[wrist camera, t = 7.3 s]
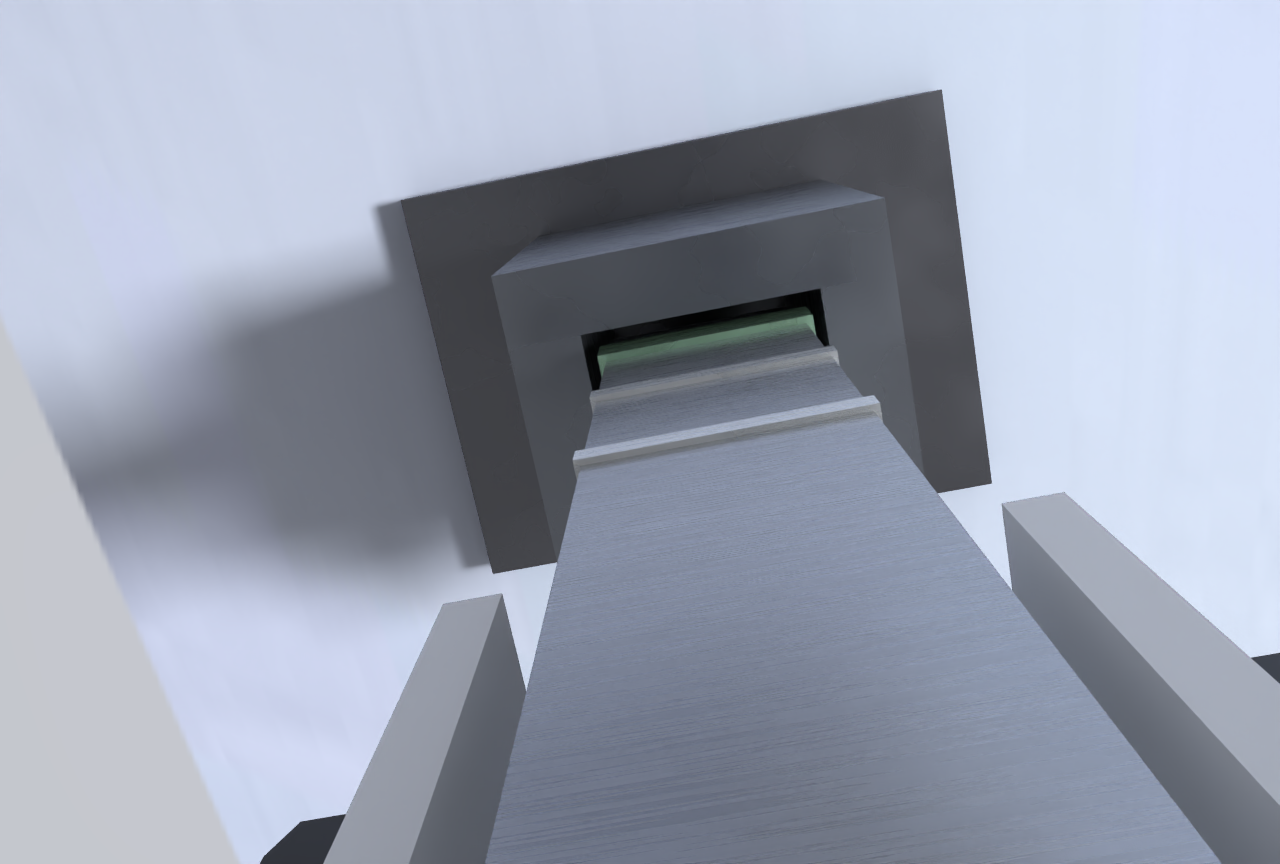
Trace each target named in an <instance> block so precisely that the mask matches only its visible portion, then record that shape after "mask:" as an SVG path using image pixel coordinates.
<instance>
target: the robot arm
mask: <svg viewBox="0 0 1280 864" xmlns="http://www.w3.org/2000/svg"><path fill="white" fill-rule="evenodd" d="M1002 511H1003V519H1004V527H1005V535H1006V543H1007V551H1008V559H1009V567H1010V575H1011V583H1012V591H1013V592H1014V594H1015V595H1016V596H1017V598H1018V599H1019V600H1020V602H1021V603H1022V604H1023V605H1024V607H1025V608H1026V609H1027V611H1028V612H1029V613H1030V615H1031V616H1032V617H1033V618H1034V620H1035V621H1036V622H1037V624H1038V625H1039V626H1040V628H1041V629H1042V630H1043V632H1044V633H1045V634H1046V635H1047V637H1048V638H1049V639H1050V641H1051V642H1052V643H1053V645H1054V646H1055V647H1056V648H1057V650H1058V651H1059V652H1060V654H1061V655H1062V656H1063V658H1064V659H1065V660H1066V661H1067V663H1068V664H1069V665H1070V667H1071V668H1072V669H1073V671H1074V672H1075V673H1076V674H1077V676H1078V677H1079V678H1080V680H1081V681H1082V682H1083V684H1084V685H1085V686H1086V687H1087V689H1088V690H1089V691H1090V693H1091V694H1092V695H1093V697H1094V698H1095V699H1096V700H1097V702H1098V703H1099V704H1100V706H1101V707H1102V708H1103V710H1104V711H1105V712H1106V713H1107V715H1108V716H1109V717H1110V719H1111V720H1112V721H1113V723H1114V724H1115V725H1116V726H1117V728H1118V729H1119V730H1120V732H1121V733H1122V734H1123V736H1124V737H1125V738H1126V739H1127V741H1128V742H1129V743H1130V745H1131V746H1132V747H1133V749H1134V750H1135V751H1136V752H1137V754H1138V755H1139V756H1140V758H1141V759H1142V760H1143V762H1144V763H1145V764H1146V765H1147V767H1148V768H1149V769H1150V771H1151V772H1152V773H1153V775H1154V776H1155V777H1156V778H1157V780H1158V781H1159V782H1160V784H1161V785H1162V786H1163V788H1164V789H1165V790H1166V791H1167V793H1168V794H1169V795H1170V797H1171V798H1172V799H1173V801H1174V802H1175V803H1176V805H1177V806H1178V807H1179V808H1180V810H1181V811H1182V812H1183V814H1184V815H1185V816H1186V818H1187V819H1188V820H1189V821H1190V823H1191V824H1192V825H1193V827H1194V828H1195V829H1196V831H1197V832H1198V833H1199V834H1200V836H1201V837H1202V838H1203V840H1204V841H1205V842H1206V844H1207V845H1208V846H1209V847H1210V849H1211V850H1212V851H1213V853H1214V854H1215V855H1216V857H1217V858H1218V859H1219V860H1220V862H1221V863H1222V864H1280V653H1276V654H1271V655H1265V656H1259V657H1253V658H1250V657H1249V656H1248V655H1247V654H1246V653H1245V652H1243V651H1242V650H1241V649H1240V648H1239V647H1238V646H1237V645H1236V644H1234V643H1233V642H1232V641H1231V640H1230V639H1229V638H1228V637H1227V636H1225V635H1224V634H1223V633H1222V632H1221V631H1220V630H1219V629H1218V628H1216V627H1215V626H1214V625H1213V624H1212V623H1211V622H1210V621H1209V620H1207V619H1206V618H1205V617H1204V616H1203V615H1202V614H1201V613H1200V612H1198V611H1197V610H1196V609H1195V608H1194V607H1193V606H1192V605H1191V604H1189V603H1188V602H1187V601H1186V600H1185V599H1184V598H1183V597H1182V596H1180V595H1179V594H1178V593H1177V592H1176V591H1175V590H1174V589H1173V588H1171V587H1170V586H1169V585H1168V584H1167V583H1166V582H1165V581H1164V580H1162V579H1161V578H1160V577H1159V576H1158V575H1157V574H1156V573H1155V572H1153V571H1152V570H1151V569H1150V568H1149V567H1148V566H1147V565H1146V564H1144V563H1143V562H1142V561H1141V560H1140V559H1139V558H1138V557H1137V556H1135V555H1134V554H1133V553H1132V552H1131V551H1130V550H1129V549H1128V548H1126V547H1125V546H1124V545H1123V544H1122V543H1121V542H1120V541H1119V540H1117V539H1116V538H1115V537H1114V536H1113V535H1112V534H1111V533H1110V532H1108V531H1107V530H1106V529H1105V528H1104V527H1103V526H1102V525H1101V524H1099V523H1098V522H1097V521H1096V520H1095V519H1094V518H1093V517H1092V516H1090V515H1089V514H1088V513H1087V512H1086V511H1085V510H1084V509H1083V508H1081V507H1080V506H1079V505H1078V504H1077V503H1076V502H1075V501H1074V500H1072V499H1071V498H1070V497H1069V496H1068V495H1067V494H1066V493H1065V492H1063V493H1057V494H1052V495H1046V496H1040V497H1035V498H1029V499H1024V500H1018V501H1013V502H1007V503H1002ZM525 695H526V689H525V685H524V681H523V677H522V673H521V668H520V664H519V660H518V656H517V652H516V648H515V644H514V640H513V636H512V632H511V628H510V624H509V620H508V616H507V611H506V607H505V603H504V599H503V595H502V594H496V595H490V596H485V597H479V598H474V599H468V600H463V601H457V602H452V603H446V604H443V606H442V608H441V610H440V612H439V614H438V617H437V619H436V621H435V623H434V625H433V627H432V630H431V632H430V634H429V636H428V638H427V640H426V643H425V645H424V647H423V649H422V651H421V653H420V656H419V658H418V660H417V662H416V664H415V666H414V668H413V671H412V673H411V675H410V677H409V679H408V681H407V684H406V686H405V688H404V690H403V692H402V694H401V697H400V699H399V701H398V703H397V705H396V707H395V710H394V712H393V714H392V716H391V718H390V720H389V723H388V725H387V727H386V729H385V731H384V733H383V736H382V738H381V740H380V742H379V744H378V746H377V749H376V751H375V753H374V755H373V757H372V759H371V762H370V764H369V766H368V768H367V770H366V772H365V774H364V777H363V779H362V781H361V783H360V785H359V787H358V790H357V792H356V794H355V796H354V798H353V800H352V803H351V805H350V807H349V809H348V811H347V813H346V814H344V815H338V816H332V817H326V818H320V819H314V820H308V821H302V822H300V823H299V824H298V825H297V826H296V827H295V828H294V829H293V830H291V831H290V832H289V833H288V834H287V835H286V836H285V837H284V838H283V839H282V840H281V841H280V842H279V843H278V844H277V845H276V846H274V847H273V848H272V849H271V850H270V851H269V852H268V853H267V854H266V855H265V856H264V857H263V859H262V861H261V863H260V864H485V861H486V857H487V853H488V849H489V845H490V840H491V836H492V832H493V828H494V824H495V820H496V816H497V811H498V807H499V803H500V799H501V795H502V791H503V787H504V782H505V778H506V774H507V770H508V766H509V762H510V757H511V753H512V749H513V745H514V741H515V737H516V733H517V728H518V724H519V720H520V716H521V712H522V708H523V704H524V699H525Z"/></svg>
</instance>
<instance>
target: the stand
mask: <svg viewBox="0 0 1280 864" xmlns="http://www.w3.org/2000/svg"><path fill="white" fill-rule="evenodd" d="M401 203H402V207H403V211H404V215H405V219H406V223H407V227H408V231H409V235H410V239H411V243H412V247H413V252H414V256H415V260H416V264H417V268H418V272H419V276H420V280H421V284H422V288H423V292H424V296H425V300H426V304H427V308H428V312H429V316H430V320H431V325H432V329H433V333H434V337H435V341H436V345H437V349H438V353H439V357H440V361H441V365H442V369H443V373H444V377H445V381H446V385H447V389H448V393H449V398H450V402H451V406H452V410H453V414H454V418H455V422H456V426H457V430H458V434H459V438H460V442H461V446H462V450H463V454H464V458H465V462H466V466H467V471H468V475H469V479H470V483H471V487H472V491H473V495H474V499H475V503H476V507H477V511H478V515H479V519H480V523H481V527H482V531H483V535H484V539H485V544H486V548H487V552H488V556H489V560H490V564H491V568H492V572H493V574H495V573H500V572H506V571H512V570H517V569H523V568H528V567H534V566H539V565H545V564H550V563H556V562H558V558H559V554H560V550H561V546H562V542H563V538H564V533H565V529H566V525H567V521H568V517H569V513H570V508H571V504H572V500H573V496H574V492H575V488H576V484H577V479H576V474H575V470H574V465H573V461H572V460H573V457H574V453H575V451H578V450H583V449H585V446H586V442H587V438H588V434H589V430H590V425H591V421H592V417H593V412H592V407H591V402H590V398H589V397H590V394H591V391H596V390H599V388H600V384H601V380H602V376H601V371H600V367H599V362H598V357H597V355H598V352H599V348H600V346H602V345H607V344H610V342H611V340H613V339H618V338H624V337H629V336H634V335H639V334H644V333H649V332H655V331H660V330H665V329H670V328H675V327H680V326H686V325H691V324H696V323H701V322H706V321H711V320H717V319H722V318H727V317H732V316H737V315H742V314H747V313H753V312H758V311H763V310H768V309H773V308H778V307H784V306H789V305H793V306H794V308H798V307H803V306H806V307H807V309H808V310H809V311H810V312H811V313H812V315H813V320H814V326H815V333H816V336H817V338H818V339H819V340H820V341H821V343H822V344H823V345H824V347H826V346H831V345H833V346H834V347H835V348H836V349H837V352H838V358H839V365H840V367H841V369H842V370H843V371H844V373H845V374H846V375H847V377H848V378H849V379H850V380H851V382H852V383H853V384H854V386H855V387H856V388H857V390H858V391H859V392H860V393H861V395H862V396H863V397H865V396H871V395H874V396H875V397H876V398H877V400H878V401H879V402H880V406H881V412H882V419H883V423H884V425H885V426H886V427H887V429H888V430H889V431H890V432H891V434H892V435H893V436H894V438H895V439H896V440H897V442H898V443H899V444H900V445H901V447H902V448H903V449H904V451H905V452H906V453H907V455H908V456H909V457H910V458H911V460H912V461H913V462H914V464H915V465H916V466H917V468H918V469H919V470H920V472H921V473H922V474H923V475H924V477H925V478H926V479H927V481H928V482H929V483H930V485H931V486H932V487H933V488H934V490H935V491H936V492H937V493H942V492H947V491H953V490H958V489H964V488H969V487H975V486H980V485H986V484H991V483H992V481H991V473H990V465H989V457H988V449H987V441H986V433H985V426H984V418H983V410H982V402H981V394H980V386H979V379H978V371H977V363H976V355H975V347H974V339H973V331H972V324H971V316H970V308H969V300H968V292H967V284H966V276H965V269H964V261H963V253H962V245H961V237H960V229H959V222H958V214H957V206H956V198H955V190H954V182H953V174H952V167H951V159H950V151H949V143H948V135H947V127H946V120H945V112H944V104H943V96H942V90H936V91H930V92H926V93H921V94H916V95H911V96H906V97H901V98H896V99H891V100H886V101H882V102H877V103H872V104H867V105H862V106H857V107H852V108H847V109H843V110H838V111H833V112H828V113H823V114H818V115H813V116H808V117H803V118H799V119H794V120H789V121H784V122H779V123H774V124H769V125H764V126H759V127H755V128H750V129H745V130H740V131H735V132H730V133H725V134H720V135H716V136H711V137H706V138H701V139H696V140H691V141H686V142H681V143H676V144H672V145H667V146H662V147H657V148H652V149H647V150H642V151H637V152H632V153H628V154H623V155H618V156H613V157H608V158H603V159H598V160H593V161H588V162H584V163H579V164H574V165H569V166H564V167H559V168H554V169H549V170H545V171H540V172H535V173H530V174H525V175H520V176H515V177H510V178H505V179H501V180H496V181H491V182H486V183H481V184H476V185H471V186H466V187H461V188H457V189H452V190H447V191H442V192H437V193H432V194H427V195H422V196H417V197H413V198H408V199H404V200H401Z"/></svg>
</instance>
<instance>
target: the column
mask: <svg viewBox="0 0 1280 864" xmlns="http://www.w3.org/2000/svg"><path fill="white" fill-rule="evenodd" d="M597 357H598V362H599V367H600V371H601V376H602V380H601V384H600V388H599V390H596V391H591V394H590V397H589V398H590V402H591V407H592V412H593V417H592V421H591V425H590V430H589V434H588V438H587V442H586V446H585V449H583V450H578V451H575V453H574V457H573V460H572V461H573V465H574V470H575V474H576V479H577V484H576V488H575V492H574V496H573V500H572V504H571V508H570V513H569V517H568V521H567V525H566V529H565V533H564V538H563V542H562V546H561V550H560V554H559V558H558V562H557V567H556V571H555V575H554V579H553V583H552V587H551V591H550V596H549V600H548V604H547V608H546V612H545V616H544V621H543V625H542V629H541V633H540V637H539V641H538V645H537V650H536V654H535V658H534V662H533V666H532V670H531V674H530V679H529V683H528V687H527V691H526V695H525V699H524V704H523V708H522V712H521V716H520V720H519V724H518V728H517V733H516V737H515V741H514V745H513V749H512V753H511V757H510V762H509V766H508V770H507V774H506V778H505V782H504V787H503V791H502V795H501V799H500V803H499V807H498V811H497V816H496V820H495V824H494V828H493V832H492V836H491V840H490V845H489V849H488V853H487V857H486V861H485V864H1222V863H1221V862H1220V860H1219V859H1218V858H1217V857H1216V855H1215V854H1214V853H1213V851H1212V850H1211V849H1210V847H1209V846H1208V845H1207V844H1206V842H1205V841H1204V840H1203V838H1202V837H1201V836H1200V834H1199V833H1198V832H1197V831H1196V829H1195V828H1194V827H1193V825H1192V824H1191V823H1190V821H1189V820H1188V819H1187V818H1186V816H1185V815H1184V814H1183V812H1182V811H1181V810H1180V808H1179V807H1178V806H1177V805H1176V803H1175V802H1174V801H1173V799H1172V798H1171V797H1170V795H1169V794H1168V793H1167V791H1166V790H1165V789H1164V788H1163V786H1162V785H1161V784H1160V782H1159V781H1158V780H1157V778H1156V777H1155V776H1154V775H1153V773H1152V772H1151V771H1150V769H1149V768H1148V767H1147V765H1146V764H1145V763H1144V762H1143V760H1142V759H1141V758H1140V756H1139V755H1138V754H1137V752H1136V751H1135V750H1134V749H1133V747H1132V746H1131V745H1130V743H1129V742H1128V741H1127V739H1126V738H1125V737H1124V736H1123V734H1122V733H1121V732H1120V730H1119V729H1118V728H1117V726H1116V725H1115V724H1114V723H1113V721H1112V720H1111V719H1110V717H1109V716H1108V715H1107V713H1106V712H1105V711H1104V710H1103V708H1102V707H1101V706H1100V704H1099V703H1098V702H1097V700H1096V699H1095V698H1094V697H1093V695H1092V694H1091V693H1090V691H1089V690H1088V689H1087V687H1086V686H1085V685H1084V684H1083V682H1082V681H1081V680H1080V678H1079V677H1078V676H1077V674H1076V673H1075V672H1074V671H1073V669H1072V668H1071V667H1070V665H1069V664H1068V663H1067V661H1066V660H1065V659H1064V658H1063V656H1062V655H1061V654H1060V652H1059V651H1058V650H1057V648H1056V647H1055V646H1054V645H1053V643H1052V642H1051V641H1050V639H1049V638H1048V637H1047V635H1046V634H1045V633H1044V632H1043V630H1042V629H1041V628H1040V626H1039V625H1038V624H1037V622H1036V621H1035V620H1034V618H1033V617H1032V616H1031V615H1030V613H1029V612H1028V611H1027V609H1026V608H1025V607H1024V605H1023V604H1022V603H1021V602H1020V600H1019V599H1018V598H1017V596H1016V595H1015V594H1014V592H1013V591H1012V590H1011V589H1010V587H1009V586H1008V585H1007V583H1006V582H1005V581H1004V579H1003V578H1002V577H1001V576H1000V574H999V573H998V572H997V570H996V569H995V568H994V566H993V565H992V564H991V563H990V561H989V560H988V559H987V557H986V556H985V555H984V553H983V552H982V551H981V550H980V548H979V547H978V546H977V544H976V543H975V542H974V540H973V539H972V538H971V537H970V535H969V534H968V533H967V531H966V530H965V529H964V527H963V526H962V525H961V524H960V522H959V521H958V520H957V518H956V517H955V516H954V514H953V513H952V512H951V511H950V509H949V508H948V507H947V505H946V504H945V503H944V501H943V500H942V499H941V498H940V496H939V495H938V494H937V492H936V491H935V490H934V488H933V487H932V486H931V485H930V483H929V482H928V481H927V479H926V478H925V477H924V475H923V474H922V473H921V472H920V470H919V469H918V468H917V466H916V465H915V464H914V462H913V461H912V460H911V458H910V457H909V456H908V455H907V453H906V452H905V451H904V449H903V448H902V447H901V445H900V444H899V443H898V442H897V440H896V439H895V438H894V436H893V435H892V434H891V432H890V431H889V430H888V429H887V427H886V426H885V425H884V423H883V419H882V412H881V406H880V402H879V401H878V400H877V398H876V397H875V396H874V395H871V396H865V397H863V396H862V395H861V393H860V392H859V391H858V390H857V388H856V387H855V386H854V384H853V383H852V382H851V380H850V379H849V378H848V377H847V375H846V374H845V373H844V371H843V370H842V369H841V367H840V365H839V358H838V352H837V349H836V348H835V347H834V346H833V345H831V346H826V347H824V345H823V344H822V343H821V341H820V340H819V339H818V338H817V336H816V333H815V326H814V320H813V315H812V313H811V312H810V311H809V310H808V309H807V307H806V306H803V307H798V308H794V306H793V305H789V306H784V307H778V308H773V309H768V310H763V311H758V312H753V313H747V314H742V315H737V316H732V317H727V318H722V319H717V320H711V321H706V322H701V323H696V324H691V325H686V326H680V327H675V328H670V329H665V330H660V331H655V332H649V333H644V334H639V335H634V336H629V337H624V338H618V339H613V340H611V342H610V344H607V345H602V346H600V348H599V352H598V355H597Z"/></svg>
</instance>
